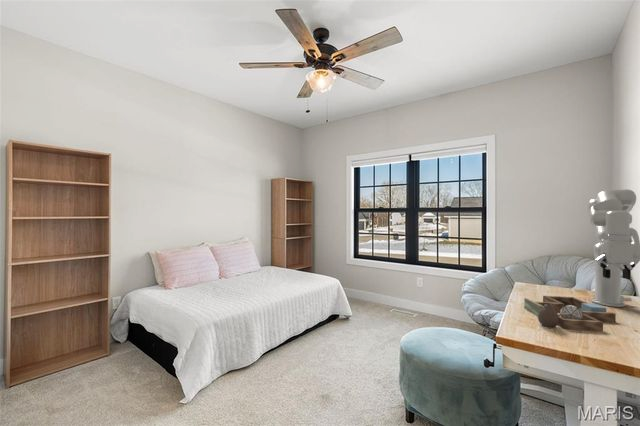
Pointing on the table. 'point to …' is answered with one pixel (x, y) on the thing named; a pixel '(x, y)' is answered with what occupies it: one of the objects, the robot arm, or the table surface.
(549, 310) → the vase
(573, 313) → the game die
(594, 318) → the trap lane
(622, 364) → the table surface
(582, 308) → the slate block
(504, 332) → the table surface
